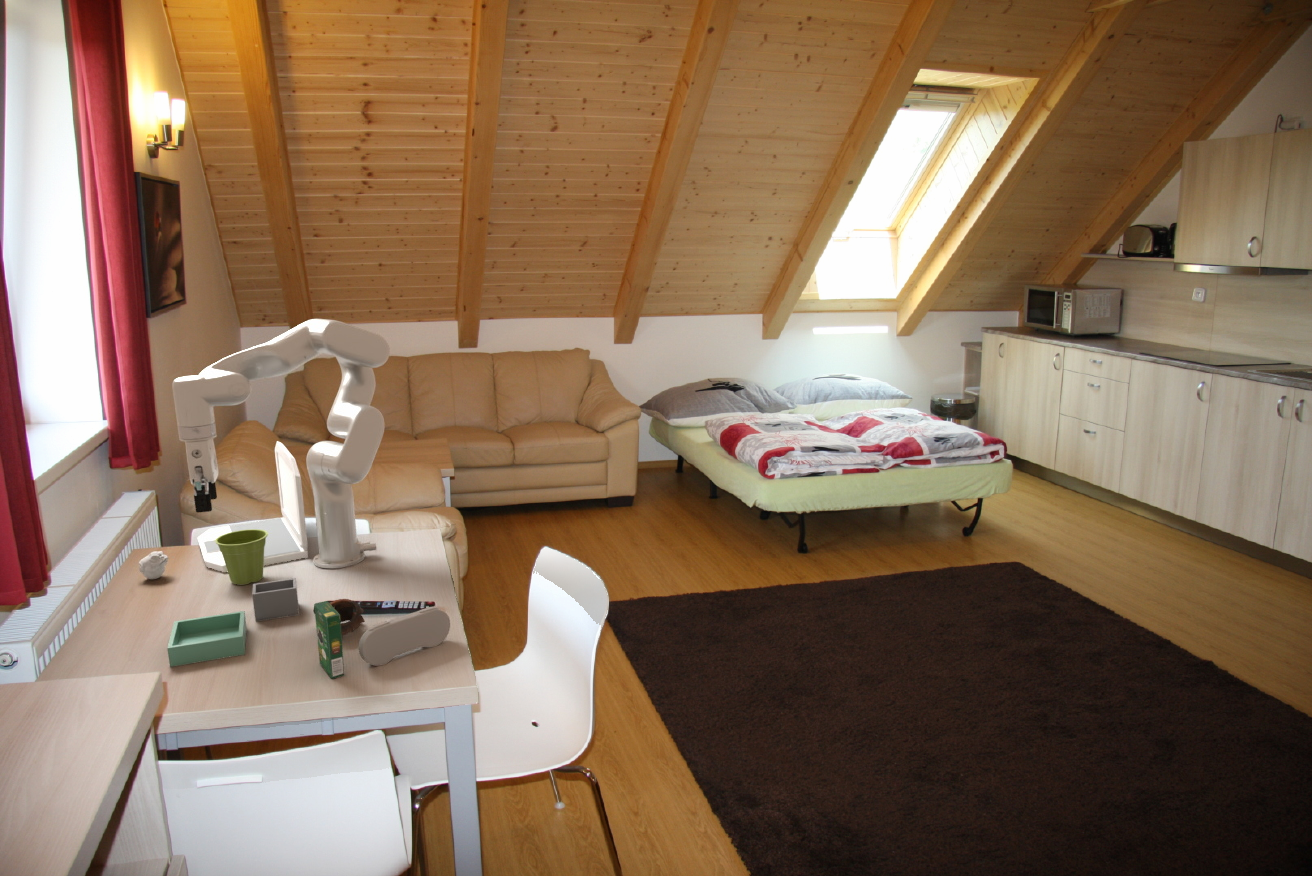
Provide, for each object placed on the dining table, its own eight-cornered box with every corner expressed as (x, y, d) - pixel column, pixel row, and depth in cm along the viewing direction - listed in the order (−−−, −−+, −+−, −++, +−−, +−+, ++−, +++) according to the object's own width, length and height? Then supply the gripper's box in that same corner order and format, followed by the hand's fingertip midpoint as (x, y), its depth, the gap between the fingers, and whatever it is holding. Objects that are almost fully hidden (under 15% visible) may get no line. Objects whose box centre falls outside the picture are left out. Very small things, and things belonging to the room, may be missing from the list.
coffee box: (346, 676, 177) (340, 613, 174) (331, 680, 175) (325, 617, 172) (334, 660, 183) (327, 599, 180) (319, 664, 182) (312, 603, 179)
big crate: (246, 627, 199) (244, 610, 198) (244, 654, 186) (242, 636, 185) (176, 638, 194) (174, 621, 193) (169, 666, 181) (167, 648, 181)
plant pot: (274, 568, 233) (269, 526, 230) (270, 585, 222) (265, 541, 219) (223, 574, 229) (218, 531, 227) (217, 592, 218) (211, 547, 216)
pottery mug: (375, 623, 201) (372, 601, 196) (352, 658, 195) (348, 636, 189) (325, 607, 203) (321, 584, 197) (301, 640, 196) (296, 618, 190)
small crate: (298, 604, 211) (295, 578, 210) (299, 615, 205) (296, 588, 204) (256, 610, 208) (253, 584, 206) (255, 621, 202) (252, 594, 201)
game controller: (446, 637, 194) (443, 600, 192) (452, 640, 192) (449, 603, 190) (359, 668, 181) (355, 628, 179) (364, 672, 179) (361, 632, 177)
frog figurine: (163, 583, 224) (159, 556, 222) (134, 583, 224) (130, 556, 223) (176, 574, 230) (172, 547, 228) (148, 574, 230) (144, 547, 229)
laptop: (196, 538, 257) (184, 447, 250) (287, 524, 269) (278, 436, 262) (207, 577, 229) (194, 475, 222) (309, 558, 240) (299, 461, 234)
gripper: (211, 438, 197) (220, 514, 201) (220, 422, 213) (228, 493, 217) (172, 441, 194) (182, 518, 198) (184, 425, 210) (193, 496, 214)
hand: (206, 505), depth 207 cm, fingers open, 9 cm apart
